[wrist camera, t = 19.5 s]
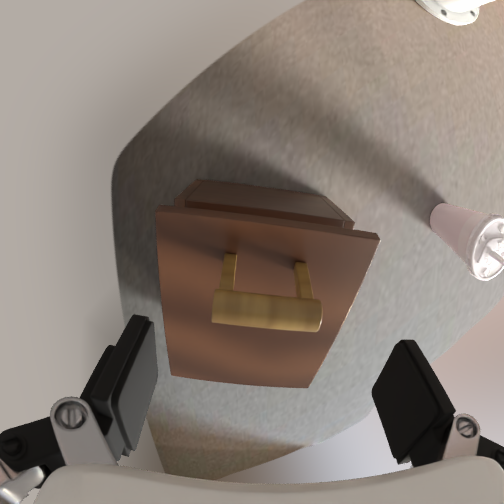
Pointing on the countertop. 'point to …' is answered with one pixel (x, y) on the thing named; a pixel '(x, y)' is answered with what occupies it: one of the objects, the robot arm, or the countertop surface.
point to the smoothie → (472, 237)
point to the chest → (263, 202)
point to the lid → (255, 293)
